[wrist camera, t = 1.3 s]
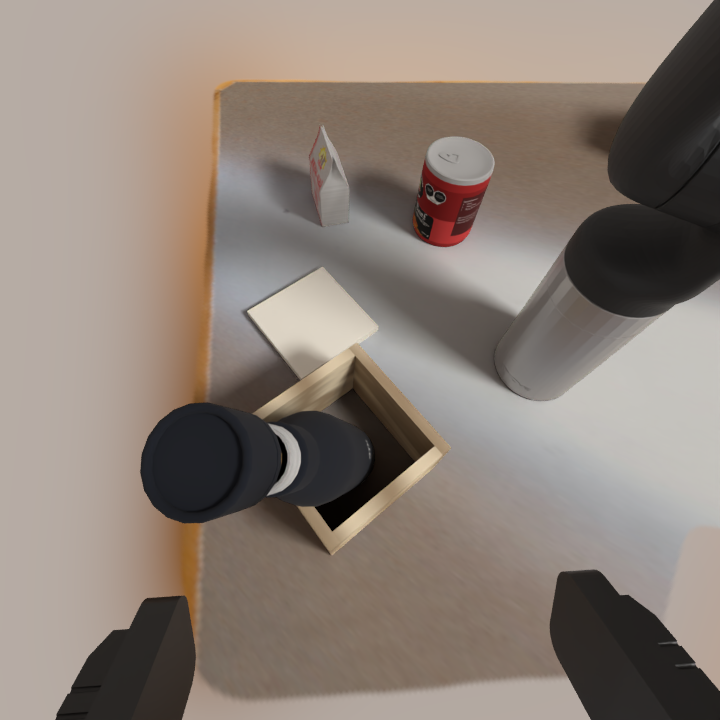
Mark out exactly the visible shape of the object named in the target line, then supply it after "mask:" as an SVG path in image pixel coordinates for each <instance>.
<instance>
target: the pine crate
mask: <svg viewBox="0 0 720 720" xmlns="http://www.w3.org/2000/svg"><path fill="white" fill-rule="evenodd" d="M351 389H354V391H355V392H356V393H357V394H358V395H359V397H360V398H361V399H362V400H363V401H364V402H365V404H366V405H367V406H368V407H369V408H370V409H371V411H372V412H373V413H374V414H375V415H376V417H377V418H378V419H379V420H380V421H381V422H382V424H383V425H384V426H385V427H386V428H387V430H388V431H389V432H390V433H391V434H392V435H393V437H394V438H395V439H396V440H397V441H398V442H399V444H400V445H401V446H402V447H403V448H404V450H405V451H406V452H407V453H408V454H409V455H410V457H411V458H412V459H413V460H414V461H415V463H414V464H413V465H412V466H410V467H409V468H408V469H407V470H406V471H404V472H403V473H402V474H401V475H400V476H398V477H397V478H396V479H395V480H394V481H392V482H391V483H390V484H389V485H388V486H386V487H385V488H384V489H383V490H382V491H381V492H379V493H378V494H377V495H376V496H375V497H373V498H372V499H371V500H370V501H369V502H367V503H366V504H365V505H364V506H363V507H361V508H360V509H359V510H358V511H357V512H355V513H354V514H353V515H352V516H351V517H349V518H348V519H347V520H346V521H345V522H344V523H342V524H341V525H340V526H339V527H338V528H336V529H335V530H334V531H333V532H332V531H331V529H330V528H329V527H328V525H327V524H326V522H325V521H324V520H323V518H322V517H321V516H320V514H319V513H318V511H317V510H316V509H315V507H314V506H313V507H301V506H297V505H296V506H297V507H298V509H299V510H300V512H301V513H302V514H303V516H304V517H305V519H306V520H307V522H308V523H309V524H310V526H311V527H312V529H313V530H314V532H315V533H316V534H317V536H318V537H319V539H320V540H321V541H322V543H323V544H324V546H325V547H326V549H327V550H328V551H329V553H330V554H331V556H332V555H333V554H334V553H335V552H336V551H337V550H339V549H340V548H341V547H342V546H343V545H344V544H346V543H347V542H348V541H349V540H350V539H351V538H353V537H354V536H355V535H356V534H357V533H358V532H360V531H361V530H362V529H363V528H364V527H365V526H367V525H368V524H369V523H370V522H371V521H372V520H374V519H375V518H376V517H377V516H378V515H379V514H381V513H382V512H383V511H384V510H385V509H386V508H388V507H389V506H390V505H391V504H392V503H393V502H394V501H396V500H397V499H398V498H399V497H400V496H401V495H403V494H404V493H405V492H406V491H407V490H408V489H410V488H411V487H412V486H413V485H414V484H415V483H417V482H418V481H419V480H420V479H421V478H422V477H424V476H425V475H426V474H427V473H428V472H429V471H431V470H432V469H433V468H434V467H435V466H436V464H437V463H438V462H439V461H440V460H441V459H442V458H443V457H444V455H445V454H446V453H447V452H448V451H449V450H450V449H451V447H450V446H449V445H448V444H447V443H446V442H445V440H444V439H443V438H442V437H441V436H440V435H439V434H438V433H437V431H436V430H435V429H434V428H433V427H432V426H431V425H430V424H429V423H428V421H427V420H426V419H425V418H424V417H423V416H422V415H421V414H420V412H419V411H418V410H417V409H416V408H415V407H414V406H413V405H412V404H411V402H410V401H409V400H408V399H407V398H406V397H405V396H404V395H403V393H402V392H401V391H400V390H399V389H398V388H397V387H396V386H395V385H394V383H393V382H392V381H391V380H390V379H389V378H388V377H387V376H386V375H385V373H384V372H383V371H382V370H381V369H380V368H379V367H378V366H377V364H376V363H375V362H374V361H373V360H372V359H371V358H370V357H369V356H368V354H367V353H366V352H365V351H364V350H363V349H362V348H361V347H360V345H359V344H358V343H355V344H354V345H352V346H351V347H349V348H348V349H346V350H345V351H343V352H342V353H340V354H339V355H338V356H336V357H335V358H333V359H332V360H330V361H329V362H327V363H326V364H324V365H323V366H321V367H320V368H318V369H317V370H315V371H314V372H313V373H311V374H310V375H308V376H307V377H305V378H304V379H302V380H301V381H299V382H298V383H296V384H295V385H293V386H292V387H290V388H289V389H288V390H286V391H285V392H283V393H282V394H280V395H279V396H277V397H276V398H274V399H273V400H271V401H270V402H268V403H267V404H265V405H264V406H263V407H261V408H260V409H258V410H257V411H255V412H254V413H252V414H254V415H257V416H258V417H260V418H261V419H262V420H264V421H265V422H277V421H279V420H280V419H282V418H284V417H287V416H289V415H292V414H295V413H297V412H301V411H319V412H321V411H322V410H323V409H325V408H326V407H328V406H329V405H330V404H332V403H333V402H335V401H336V400H337V399H339V398H340V397H342V396H343V395H344V394H346V393H347V392H348V391H350V390H351Z"/></svg>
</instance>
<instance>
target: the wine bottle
mask: <svg viewBox="0 0 720 720" xmlns="http://www.w3.org/2000/svg"><path fill="white" fill-rule="evenodd" d="M374 462H375V453H374V448H373V445H372V442H371V440H370V439H369V438H368V436H367V435H366V434H365V433H364V432H363V431H362V430H360V429H359V428H357V427H355V426H353V425H351V424H349V423H347V422H345V421H343V420H340V419H338V418H336V417H334V416H332V415H330V414H326V413H323V412H319V411H301V412H297V413H295V414H292V415H289V416H287V417H284V418H282V419H280V420H279V421H277V422H265V421H264V420H262V419H261V418H260V417H258V416H257V415H254V414H250V413H247V412H243V411H239V410H235V409H231V408H227V407H223V406H219V405H215V404H211V403H191V404H188V405H185V406H183V407H180V408H177V409H175V410H173V411H172V412H170V413H169V414H168V415H167V416H165V417H164V418H163V419H162V420H160V421H159V422H158V424H157V425H156V426H155V428H154V429H153V431H152V432H151V434H150V435H149V436H148V439H147V441H146V444H145V447H144V449H143V452H142V457H141V470H140V471H141V472H140V473H141V478H142V482H143V487H144V491H145V493H146V494H147V496H148V497H149V499H150V501H151V503H152V504H153V506H154V507H155V508H156V509H158V510H159V511H160V512H161V513H162V514H164V515H165V516H166V517H167V518H170V519H173V520H176V521H179V522H182V523H204V522H207V521H210V520H213V519H216V518H219V517H222V516H225V515H228V514H232V513H235V512H238V511H241V510H243V509H246V508H249V507H251V506H254V505H256V504H257V503H258V502H259V501H261V500H262V499H263V498H264V497H277V498H278V499H280V500H282V501H284V502H287V503H291V504H294V505H297V506H301V507H313V506H320V505H322V504H325V503H328V502H330V501H333V500H334V499H336V498H338V497H340V496H341V495H343V494H345V493H347V492H348V491H350V490H352V489H354V488H355V487H357V486H359V485H360V484H361V483H363V482H364V481H365V480H366V479H367V478H368V476H369V475H370V473H371V471H372V469H373V465H374Z"/></svg>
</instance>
